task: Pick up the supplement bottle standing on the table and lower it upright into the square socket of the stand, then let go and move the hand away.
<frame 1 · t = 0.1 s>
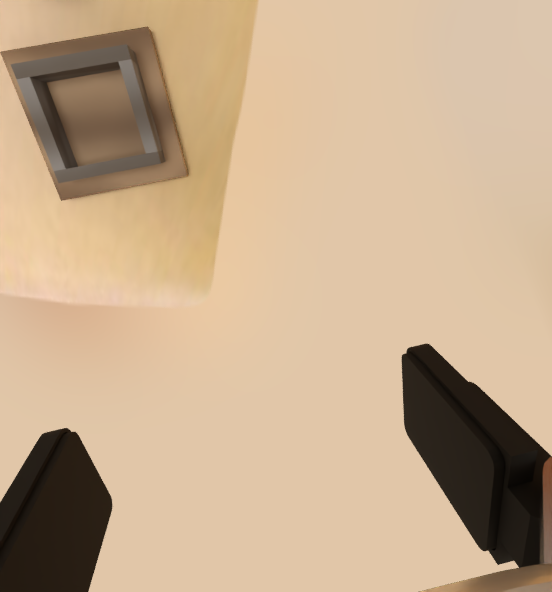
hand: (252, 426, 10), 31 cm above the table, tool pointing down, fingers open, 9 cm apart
socket stand: (106, 120, 34), on the table
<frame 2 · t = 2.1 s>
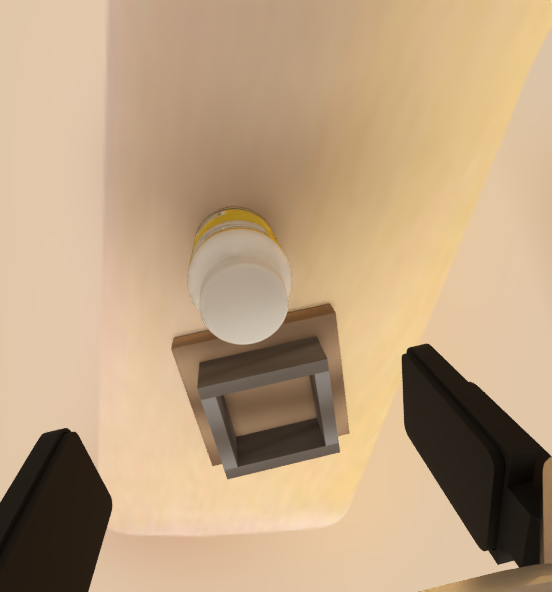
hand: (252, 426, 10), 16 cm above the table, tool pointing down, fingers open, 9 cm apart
supplement bottle: (235, 244, 25), on the table
socket stand: (267, 383, 30), on the table
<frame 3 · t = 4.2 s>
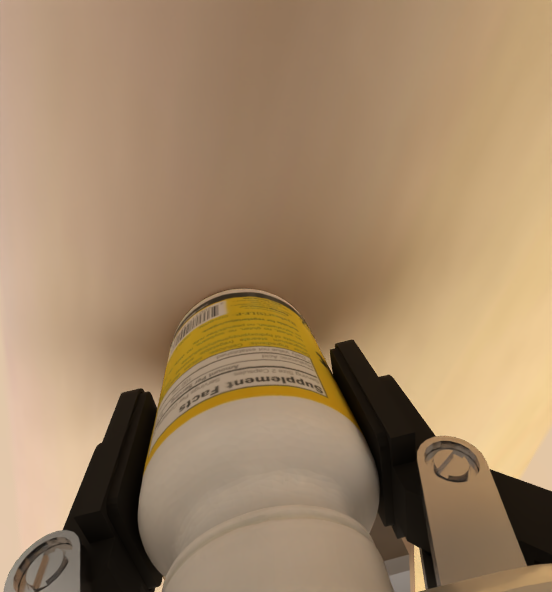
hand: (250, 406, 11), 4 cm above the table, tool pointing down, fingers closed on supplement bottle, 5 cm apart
supplement bottle: (243, 344, 15), on the table, touching gripper
socket stand: (291, 538, 19), on the table
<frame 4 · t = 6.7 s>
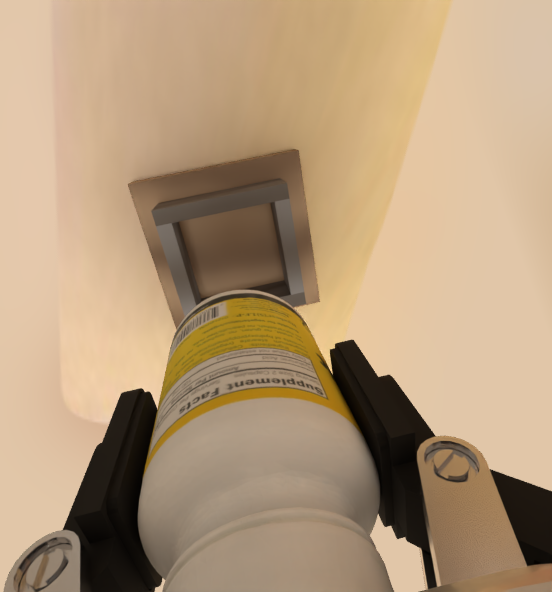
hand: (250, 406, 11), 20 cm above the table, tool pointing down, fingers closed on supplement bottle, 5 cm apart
supplement bottle: (243, 345, 15), point 16 cm above the table, touching gripper
socket stand: (232, 243, 29), on the table
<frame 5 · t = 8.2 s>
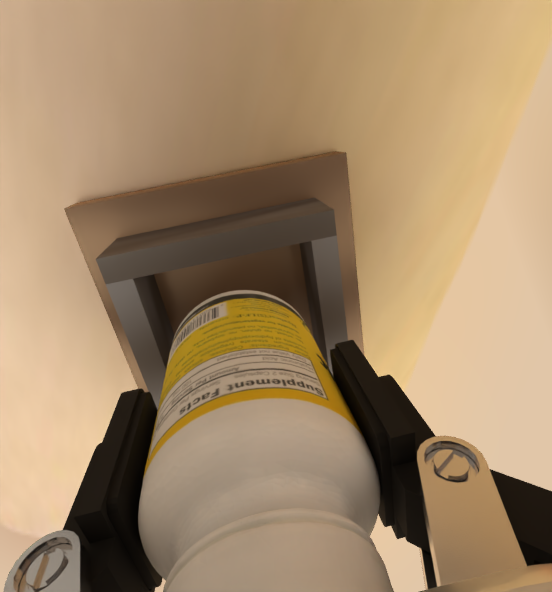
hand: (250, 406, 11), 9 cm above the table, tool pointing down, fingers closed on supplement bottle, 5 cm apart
supplement bottle: (243, 346, 15), point 5 cm above the table, touching gripper
socket stand: (237, 294, 19), on the table
when the fingers open (7 cm above the table, at t = 9.4 s): supplement bottle drops 2 cm, resting on socket stand.
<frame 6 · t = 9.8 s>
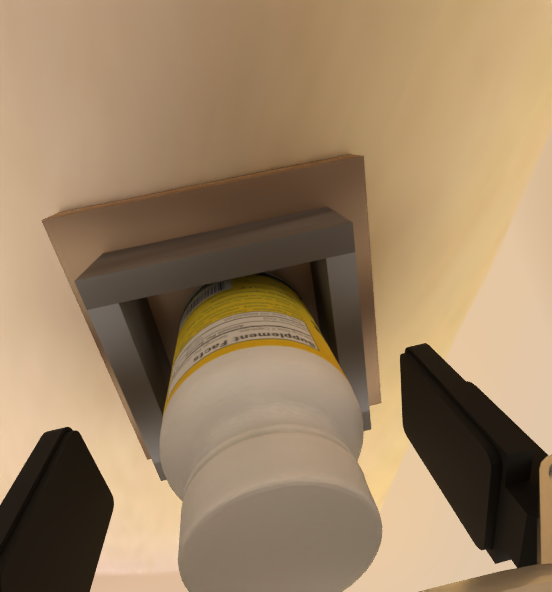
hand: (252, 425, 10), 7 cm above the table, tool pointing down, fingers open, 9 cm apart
supplement bottle: (245, 321, 16), point 1 cm above the table, touching socket stand
socket stand: (239, 312, 17), on the table
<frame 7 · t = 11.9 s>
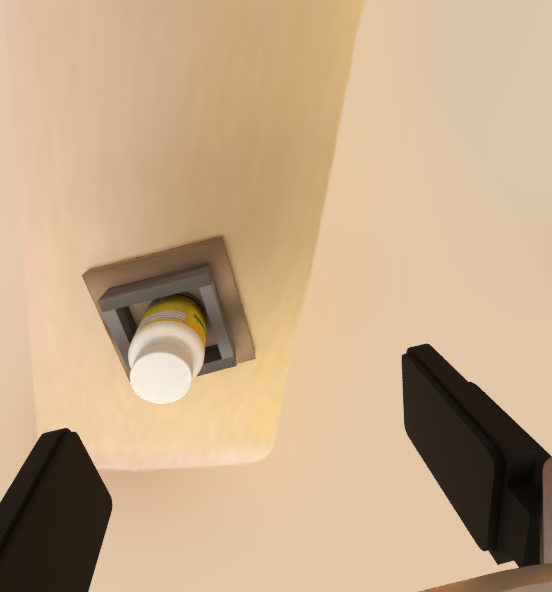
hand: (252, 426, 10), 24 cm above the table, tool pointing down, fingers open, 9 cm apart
supplement bottle: (177, 317, 33), point 1 cm above the table, touching socket stand
socket stand: (177, 313, 34), on the table
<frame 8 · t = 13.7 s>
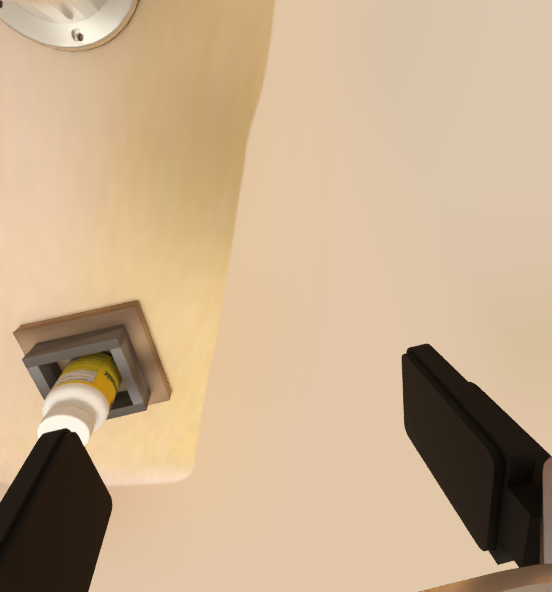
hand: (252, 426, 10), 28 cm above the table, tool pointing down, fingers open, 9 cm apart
supplement bottle: (99, 366, 39), point 1 cm above the table, touching socket stand
socket stand: (101, 361, 40), on the table
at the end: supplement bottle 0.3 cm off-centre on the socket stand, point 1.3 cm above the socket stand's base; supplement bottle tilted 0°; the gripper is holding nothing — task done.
